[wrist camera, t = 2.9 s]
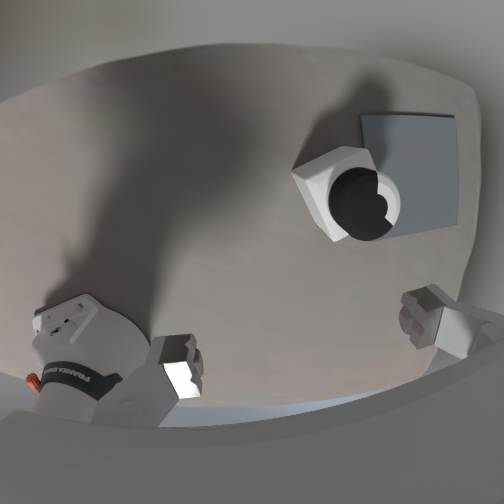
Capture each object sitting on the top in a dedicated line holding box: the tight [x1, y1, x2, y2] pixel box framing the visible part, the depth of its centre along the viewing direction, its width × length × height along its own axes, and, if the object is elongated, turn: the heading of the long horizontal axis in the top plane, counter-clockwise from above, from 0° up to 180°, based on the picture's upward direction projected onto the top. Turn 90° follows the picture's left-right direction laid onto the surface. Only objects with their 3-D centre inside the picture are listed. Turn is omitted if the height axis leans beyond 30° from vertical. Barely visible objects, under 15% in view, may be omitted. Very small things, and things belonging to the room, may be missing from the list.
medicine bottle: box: [291, 146, 401, 242], centre depth 27 cm, size 7×7×12 cm
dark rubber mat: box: [360, 115, 459, 241], centre depth 32 cm, size 16×16×1 cm
